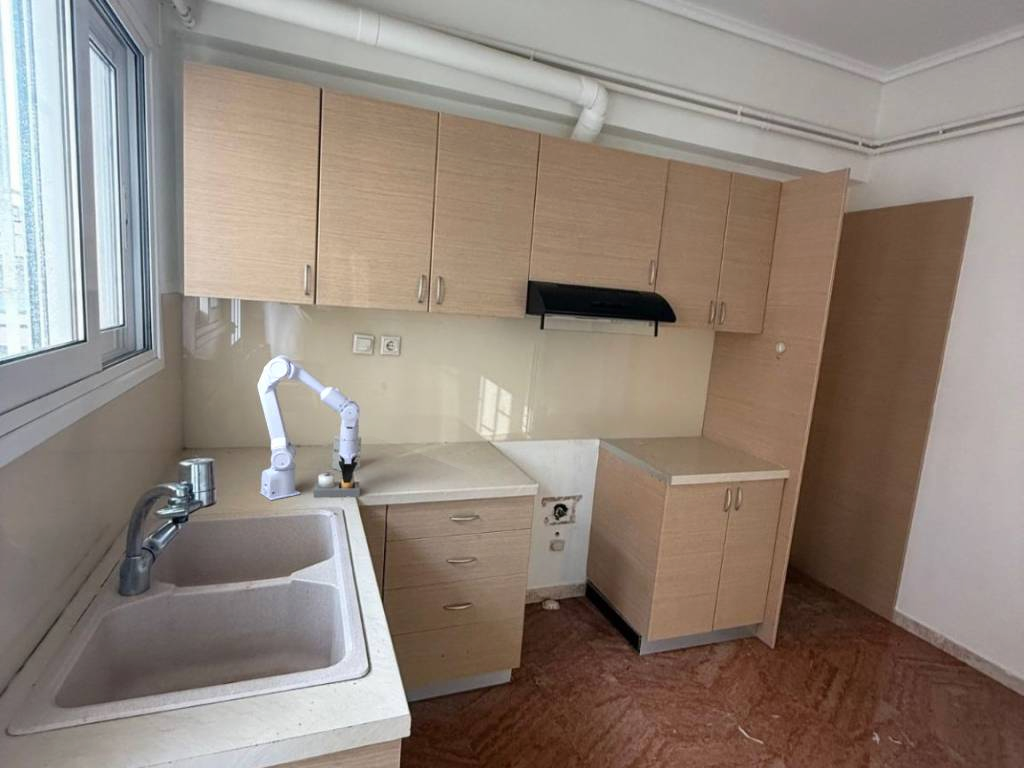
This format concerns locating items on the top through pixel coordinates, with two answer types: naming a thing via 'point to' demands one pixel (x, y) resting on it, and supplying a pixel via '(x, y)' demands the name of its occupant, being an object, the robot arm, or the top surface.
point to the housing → (333, 487)
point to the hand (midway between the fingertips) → (347, 478)
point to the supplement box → (337, 457)
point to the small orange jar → (347, 485)
